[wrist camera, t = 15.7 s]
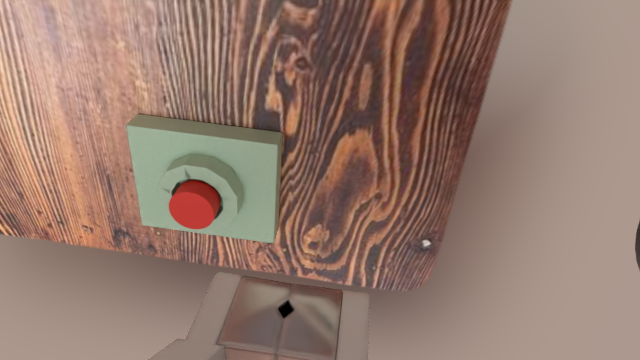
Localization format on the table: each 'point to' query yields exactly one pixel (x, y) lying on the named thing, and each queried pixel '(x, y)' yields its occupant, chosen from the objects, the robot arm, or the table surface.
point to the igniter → (208, 173)
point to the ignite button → (194, 204)
